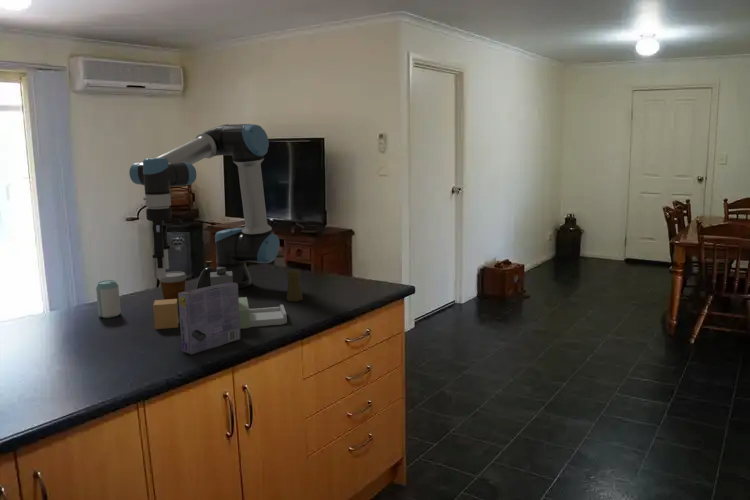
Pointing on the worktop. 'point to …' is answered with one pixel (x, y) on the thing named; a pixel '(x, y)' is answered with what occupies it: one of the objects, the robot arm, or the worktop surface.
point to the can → (108, 299)
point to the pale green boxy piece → (245, 314)
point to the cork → (294, 286)
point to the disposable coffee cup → (173, 285)
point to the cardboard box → (166, 313)
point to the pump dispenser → (205, 278)
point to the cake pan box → (209, 317)
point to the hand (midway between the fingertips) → (163, 273)
